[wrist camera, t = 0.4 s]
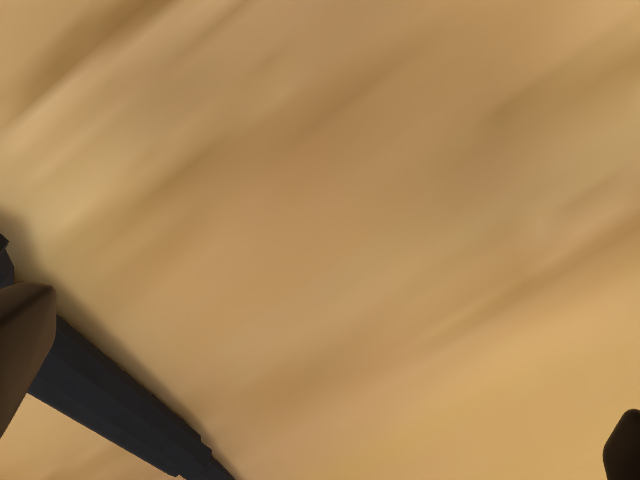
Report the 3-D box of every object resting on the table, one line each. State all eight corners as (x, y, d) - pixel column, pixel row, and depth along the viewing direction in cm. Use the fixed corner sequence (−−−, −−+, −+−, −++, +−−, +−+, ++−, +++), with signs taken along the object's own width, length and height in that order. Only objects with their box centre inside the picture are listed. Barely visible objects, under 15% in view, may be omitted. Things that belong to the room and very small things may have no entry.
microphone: (268, 425, 32) (-45, 175, 24) (290, 498, 26) (-103, 207, 19) (198, 490, 32) (-137, 262, 24) (206, 576, 26) (-221, 320, 19)
